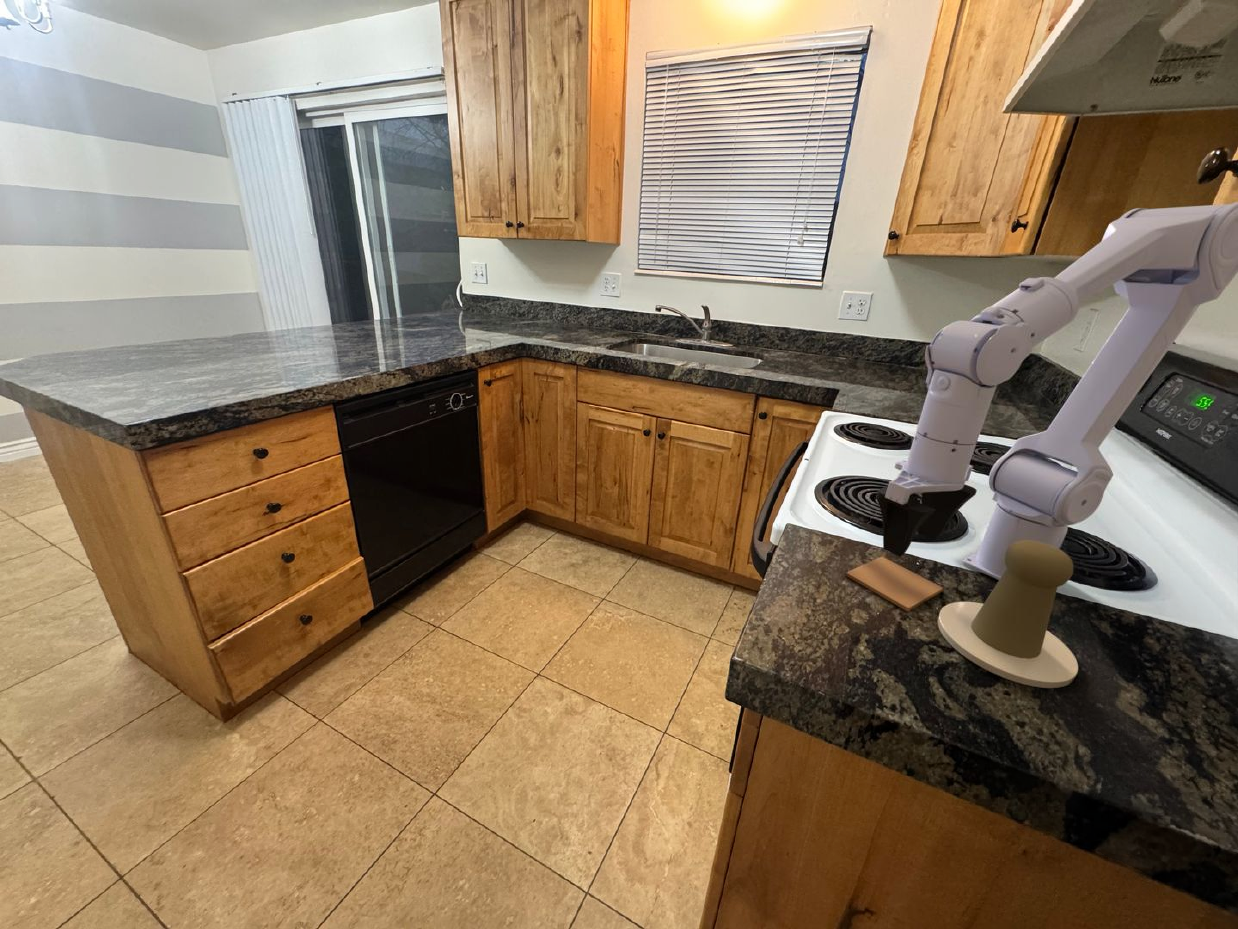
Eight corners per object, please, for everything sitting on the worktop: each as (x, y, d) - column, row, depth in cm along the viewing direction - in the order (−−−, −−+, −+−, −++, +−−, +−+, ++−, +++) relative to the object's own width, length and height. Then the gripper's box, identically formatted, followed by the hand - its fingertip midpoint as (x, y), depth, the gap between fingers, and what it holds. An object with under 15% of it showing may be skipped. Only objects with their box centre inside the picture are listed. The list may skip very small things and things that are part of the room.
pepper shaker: (1054, 663, 49) (1101, 570, 45) (986, 652, 50) (1027, 559, 46) (1021, 623, 55) (1060, 537, 50) (961, 614, 56) (995, 528, 51)
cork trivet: (880, 559, 67) (881, 556, 67) (942, 591, 61) (943, 588, 61) (845, 575, 63) (846, 572, 63) (907, 612, 57) (908, 608, 56)
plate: (967, 595, 60) (969, 590, 60) (1093, 659, 51) (1096, 653, 51) (915, 628, 54) (917, 622, 54) (1048, 707, 45) (1051, 701, 45)
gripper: (941, 418, 61) (910, 516, 66) (873, 433, 53) (844, 542, 58) (1006, 436, 55) (967, 541, 61) (941, 455, 48) (902, 573, 53)
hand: (910, 544), depth 59 cm, fingers open, 7 cm apart
